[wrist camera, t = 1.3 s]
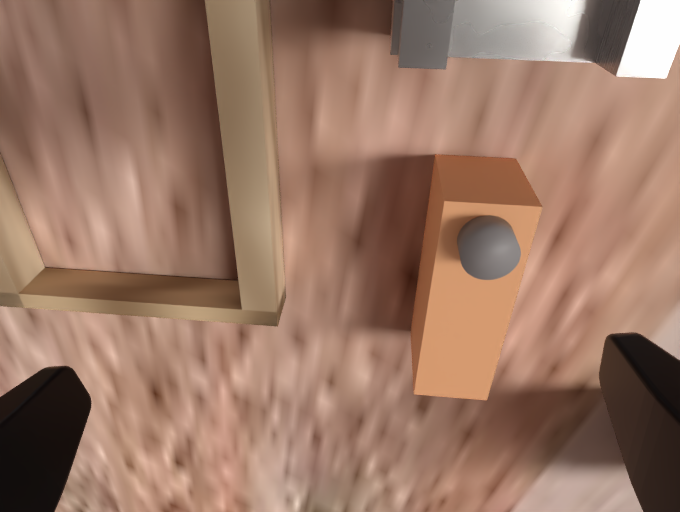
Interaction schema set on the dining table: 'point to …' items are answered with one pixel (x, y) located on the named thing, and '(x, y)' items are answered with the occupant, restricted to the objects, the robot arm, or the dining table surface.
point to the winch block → (539, 32)
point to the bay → (243, 191)
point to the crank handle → (469, 272)
